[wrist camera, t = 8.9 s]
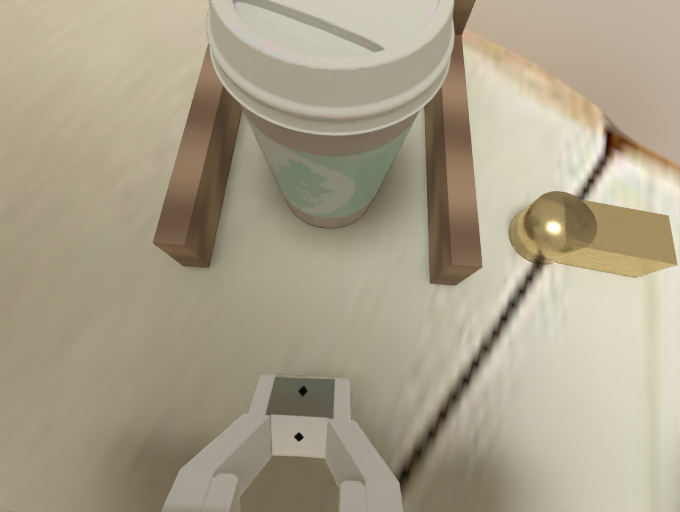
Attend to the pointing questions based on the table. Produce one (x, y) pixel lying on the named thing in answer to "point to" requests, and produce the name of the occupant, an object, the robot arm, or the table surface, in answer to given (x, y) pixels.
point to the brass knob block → (593, 236)
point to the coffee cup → (331, 89)
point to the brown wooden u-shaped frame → (217, 148)
